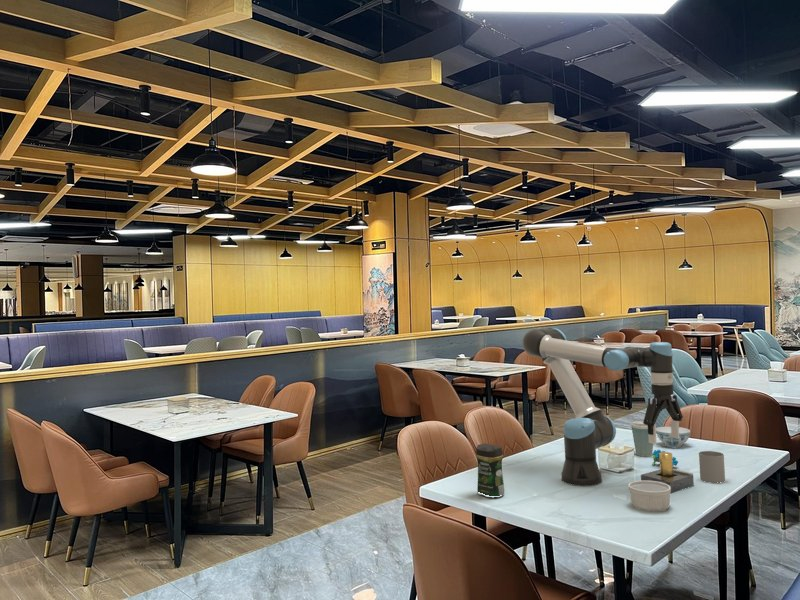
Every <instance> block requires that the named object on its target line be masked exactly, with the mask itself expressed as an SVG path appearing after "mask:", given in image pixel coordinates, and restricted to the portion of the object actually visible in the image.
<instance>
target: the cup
mask: <svg viewBox="0 0 800 600" xmlns="http://www.w3.org/2000/svg"><path fill="white" fill-rule="evenodd" d="M724 456H725V455H724V453H722V452H719V451H714V450H713V451H712V450H703V451H699V452H698V458H699V462H698V463H699V478H700V479H699V480H700V481H702V482H704V481H705V483H708V482H711V483H710V484H721V483H720V482H724V481H725V482H726V471H725V457H724ZM717 482H718V483H717ZM725 482H724V483H725Z"/></svg>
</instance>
